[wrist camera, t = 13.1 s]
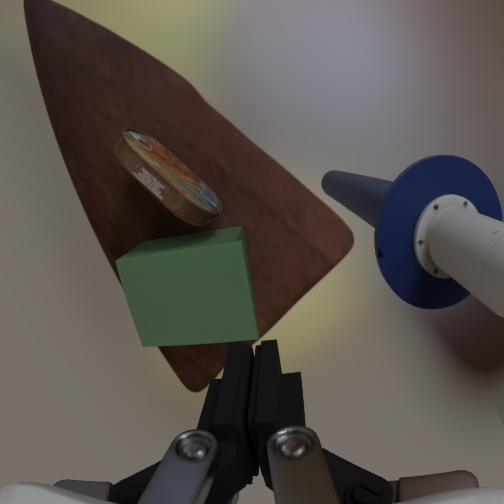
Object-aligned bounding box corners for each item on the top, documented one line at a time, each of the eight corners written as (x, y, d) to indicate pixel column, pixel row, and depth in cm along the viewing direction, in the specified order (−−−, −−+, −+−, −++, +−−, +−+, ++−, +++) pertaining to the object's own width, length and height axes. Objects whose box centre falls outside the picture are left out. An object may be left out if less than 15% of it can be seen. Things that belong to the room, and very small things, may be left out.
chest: (242, 225, 39) (234, 241, 32) (256, 306, 42) (252, 336, 35) (144, 241, 41) (118, 258, 33) (164, 314, 44) (145, 343, 36)
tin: (228, 204, 38) (216, 216, 30) (212, 222, 39) (196, 239, 31) (144, 128, 36) (114, 122, 28) (130, 146, 37) (97, 146, 29)
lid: (242, 240, 32) (241, 242, 31) (259, 335, 35) (258, 339, 34) (118, 259, 33) (115, 261, 32) (145, 343, 36) (142, 346, 35)
